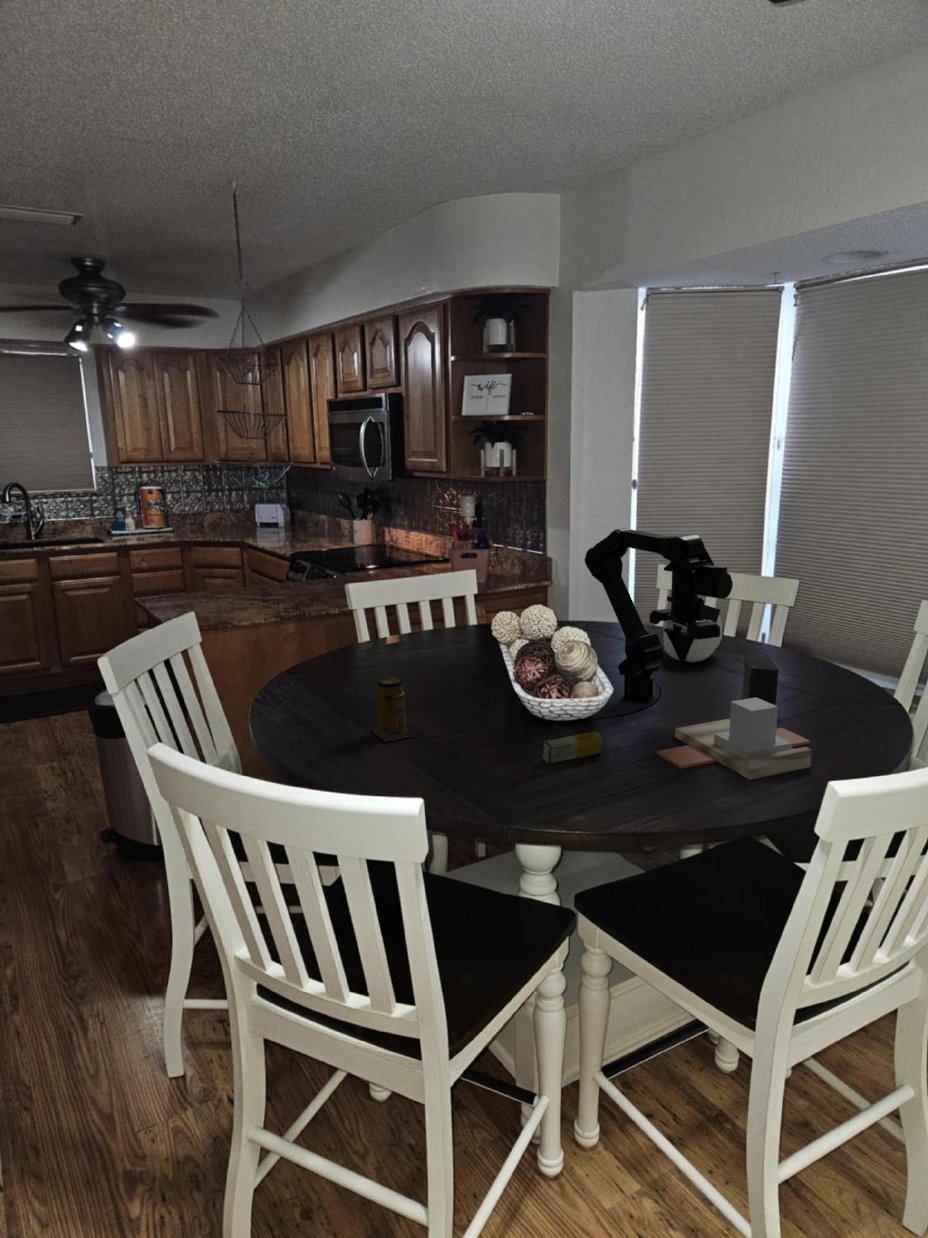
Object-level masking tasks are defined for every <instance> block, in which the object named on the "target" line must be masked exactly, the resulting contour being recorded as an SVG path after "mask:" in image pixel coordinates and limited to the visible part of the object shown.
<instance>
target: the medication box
mask: <svg viewBox="0 0 928 1238" xmlns="http://www.w3.org/2000/svg"><path fill="white" fill-rule="evenodd" d="M602 745H603V736H602V734H600V733H599V732H597V731H591V732H585V733H580V734H575V735H570V736H564V737H561V738H560V737H559V738H555V739H551V740H544V741H543V756H542V759H543V760H544V762H545V763H547V764H553V763H558V762H563V761H567V760H572V759H578V758H583V757H588V756H592V755H599V754H601V753H603V751H602Z"/></svg>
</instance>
